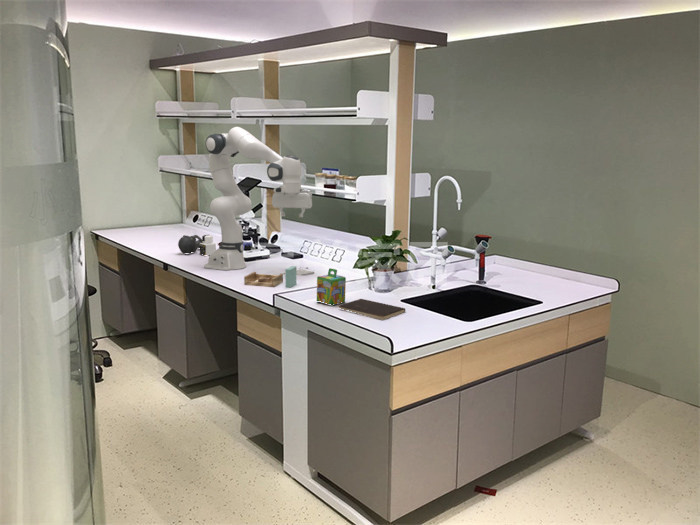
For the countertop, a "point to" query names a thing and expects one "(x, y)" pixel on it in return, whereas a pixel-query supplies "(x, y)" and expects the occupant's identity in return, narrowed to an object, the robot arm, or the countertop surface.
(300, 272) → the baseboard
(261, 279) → the offcut short
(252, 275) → the rack
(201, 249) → the medicine bottle
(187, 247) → the gas mask
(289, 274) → the panel
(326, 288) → the green printed box
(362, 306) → the hardcover book
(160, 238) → the countertop surface
